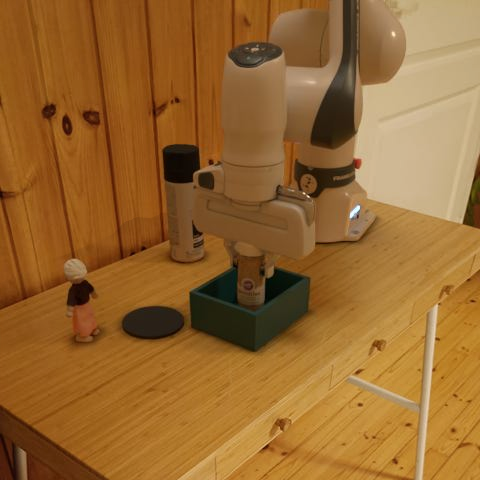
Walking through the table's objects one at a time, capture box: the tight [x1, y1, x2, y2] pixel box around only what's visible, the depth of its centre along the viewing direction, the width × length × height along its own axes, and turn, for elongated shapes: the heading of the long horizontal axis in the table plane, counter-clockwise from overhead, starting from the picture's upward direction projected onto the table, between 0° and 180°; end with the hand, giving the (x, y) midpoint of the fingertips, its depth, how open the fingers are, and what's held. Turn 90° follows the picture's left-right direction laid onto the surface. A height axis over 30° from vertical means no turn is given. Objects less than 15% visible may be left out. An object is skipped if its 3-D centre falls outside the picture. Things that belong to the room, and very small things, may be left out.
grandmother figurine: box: [63, 258, 101, 343], centre depth 91 cm, size 8×4×13 cm, turn 171°
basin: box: [188, 265, 312, 352], centre depth 98 cm, size 16×13×6 cm
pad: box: [121, 305, 185, 340], centre depth 99 cm, size 10×10×1 cm
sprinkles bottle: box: [236, 241, 267, 312], centre depth 96 cm, size 5×5×14 cm
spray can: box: [161, 143, 205, 263], centre depth 113 cm, size 7×7×20 cm
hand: (251, 271), depth 95 cm, fingers closed on sprinkles bottle, 4 cm apart
